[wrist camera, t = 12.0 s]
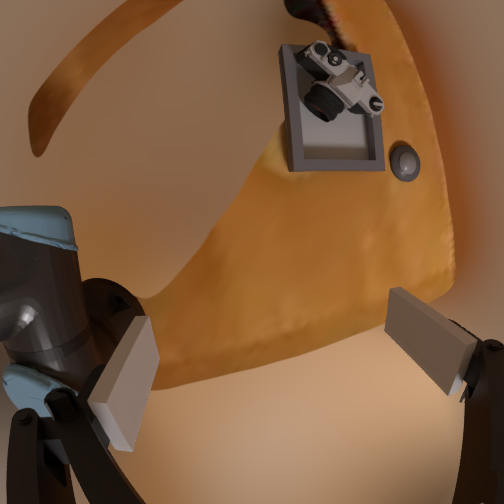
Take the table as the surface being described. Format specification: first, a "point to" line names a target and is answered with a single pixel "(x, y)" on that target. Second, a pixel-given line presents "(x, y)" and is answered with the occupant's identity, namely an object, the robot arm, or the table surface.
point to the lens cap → (405, 163)
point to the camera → (336, 84)
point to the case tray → (327, 123)
